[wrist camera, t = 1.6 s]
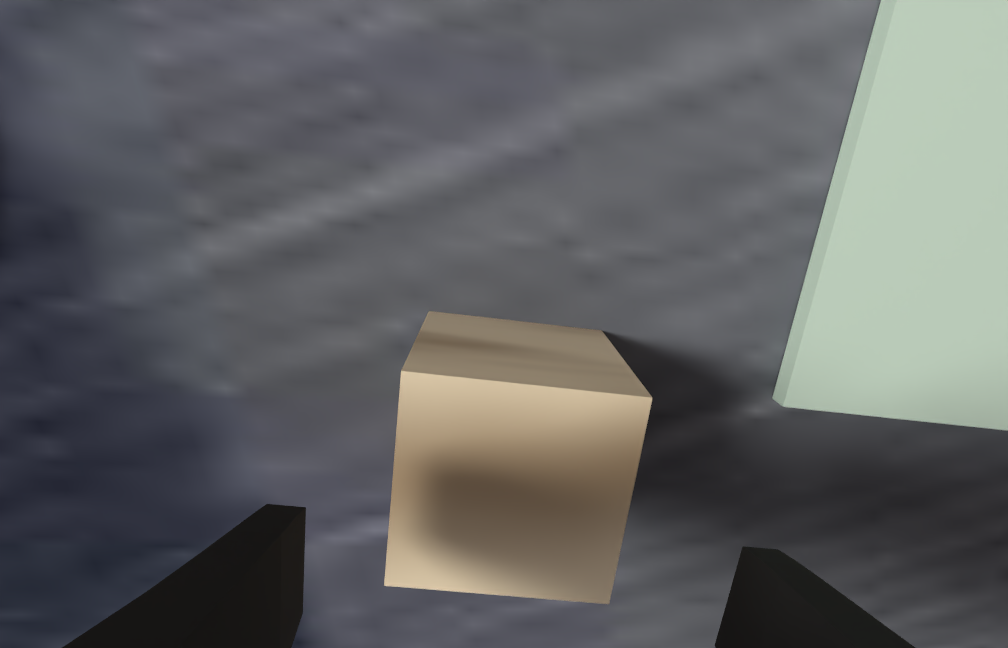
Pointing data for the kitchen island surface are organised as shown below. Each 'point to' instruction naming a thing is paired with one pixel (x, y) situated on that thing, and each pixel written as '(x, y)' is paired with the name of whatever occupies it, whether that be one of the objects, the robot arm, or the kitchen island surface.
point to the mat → (914, 230)
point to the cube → (513, 460)
